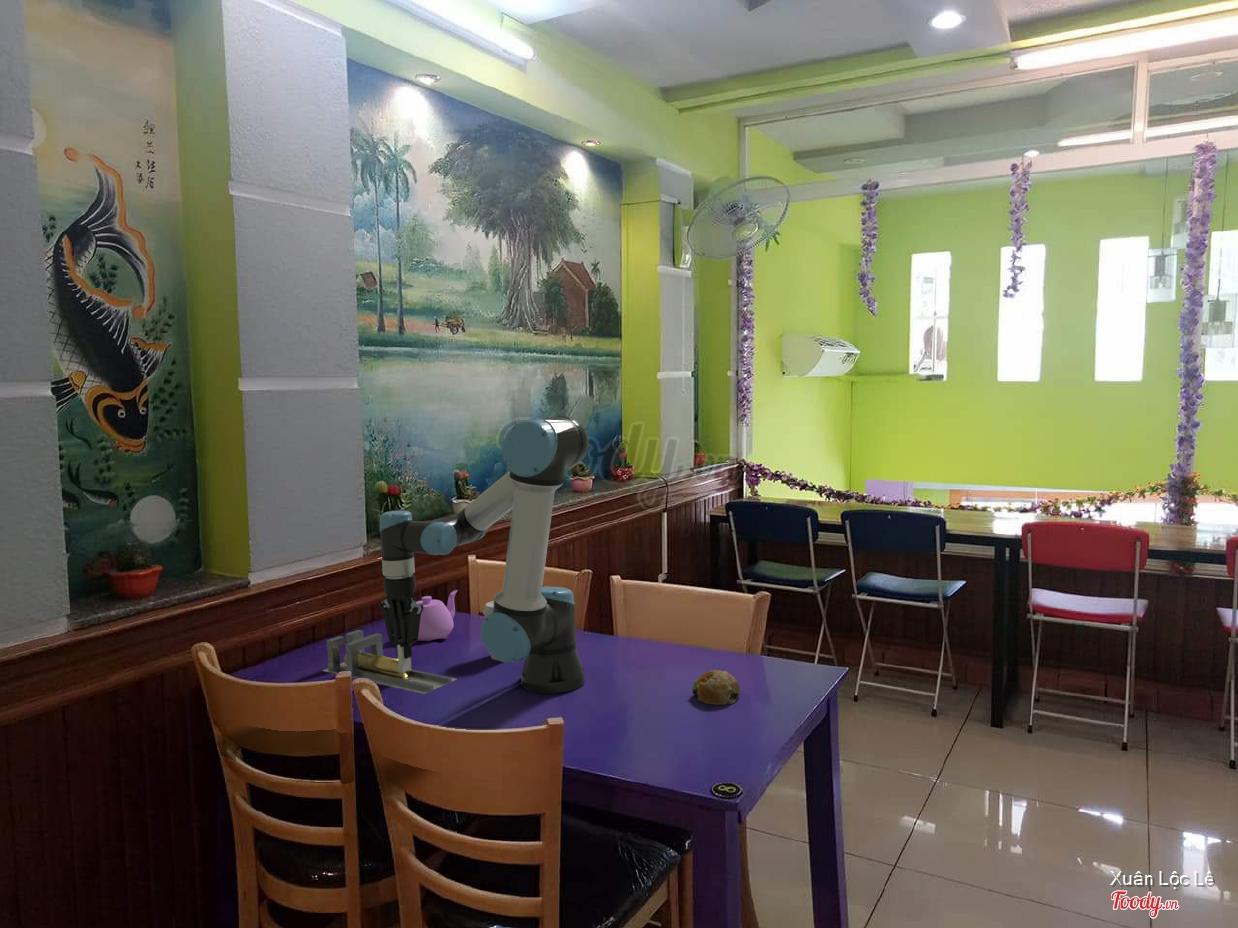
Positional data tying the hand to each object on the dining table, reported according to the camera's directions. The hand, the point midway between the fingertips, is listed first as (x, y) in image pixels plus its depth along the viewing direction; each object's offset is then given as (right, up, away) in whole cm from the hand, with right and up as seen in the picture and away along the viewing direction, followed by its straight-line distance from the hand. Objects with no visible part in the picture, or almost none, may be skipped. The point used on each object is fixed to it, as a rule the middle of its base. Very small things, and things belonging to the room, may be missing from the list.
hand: (405, 670), depth 209 cm
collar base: (-5, -3, +4) cm, 7 cm away
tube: (-9, -2, +6) cm, 11 cm away
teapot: (-2, 0, +37) cm, 37 cm away
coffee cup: (+22, -1, +15) cm, 27 cm away
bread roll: (+74, -2, -17) cm, 76 cm away
